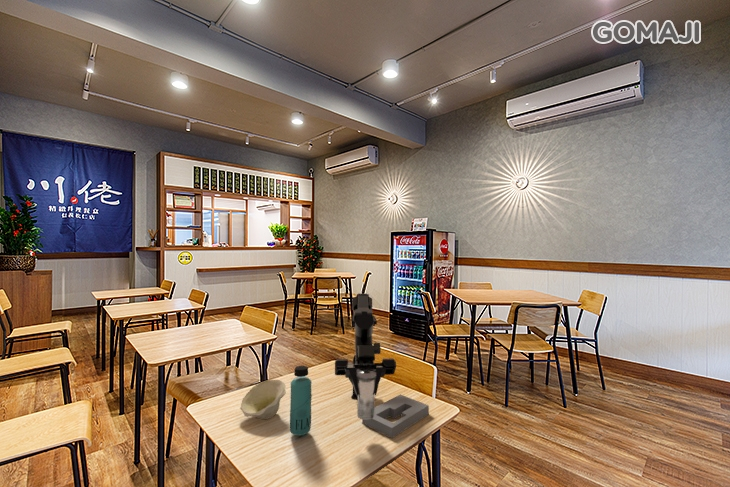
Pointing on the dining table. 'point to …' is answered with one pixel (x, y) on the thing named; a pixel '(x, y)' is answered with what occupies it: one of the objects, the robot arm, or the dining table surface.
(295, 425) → the beverage bottle
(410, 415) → the keyhole plate
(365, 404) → the salt shaker
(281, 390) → the bowl
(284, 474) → the dining table surface
